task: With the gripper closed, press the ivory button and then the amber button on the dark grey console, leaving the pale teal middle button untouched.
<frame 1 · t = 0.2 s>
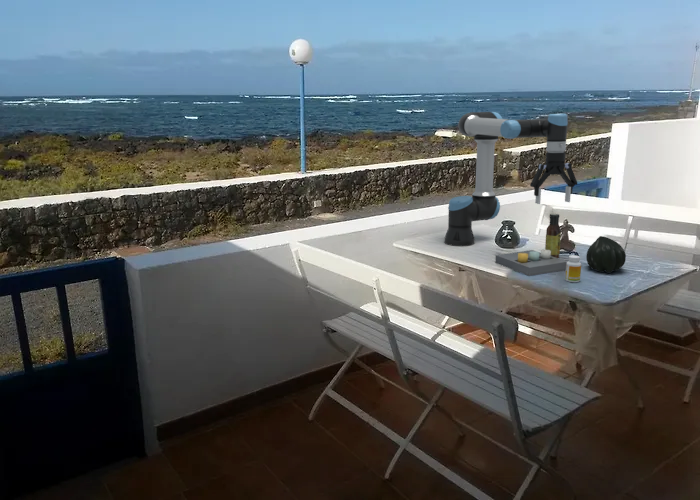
hand: (552, 202, 224), 27 cm above the table, tool pointing down, fingers open, 13 cm apart
ivory button: (545, 255, 226), point 5 cm above the table, slide at 0.0 cm
sauce bottle: (551, 257, 239), on the table
console: (530, 266, 227), on the table
squash: (604, 270, 219), on the table
amber button: (522, 258, 222), point 5 cm above the table, slide at 0.0 cm
teal button: (534, 256, 224), point 5 cm above the table, slide at 0.0 cm
supplement bottle: (572, 280, 206), on the table
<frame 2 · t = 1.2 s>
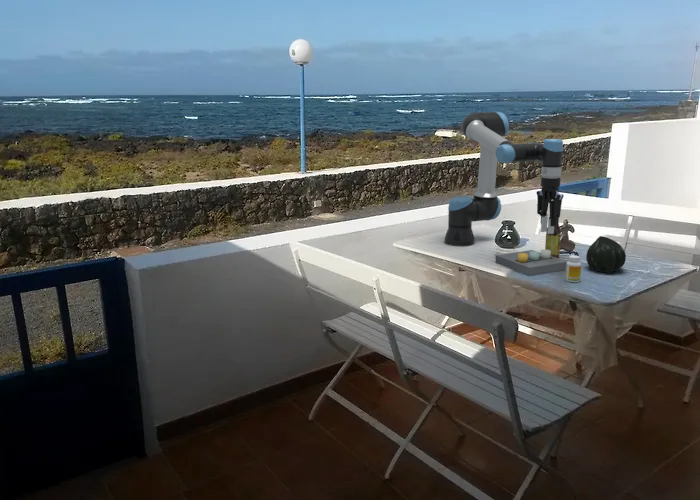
hand: (547, 232, 223), 15 cm above the table, tool pointing down, fingers open, 3 cm apart
nothing on the table moved.
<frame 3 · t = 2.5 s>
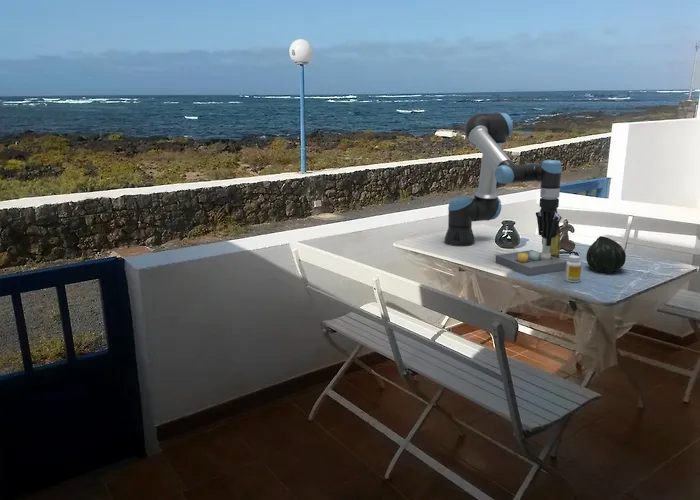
hand: (545, 252, 225), 6 cm above the table, tool pointing down, fingers closed
ivory button: (545, 257, 226), point 4 cm above the table, slide at 1.1 cm, touching gripper
everything else where it was.
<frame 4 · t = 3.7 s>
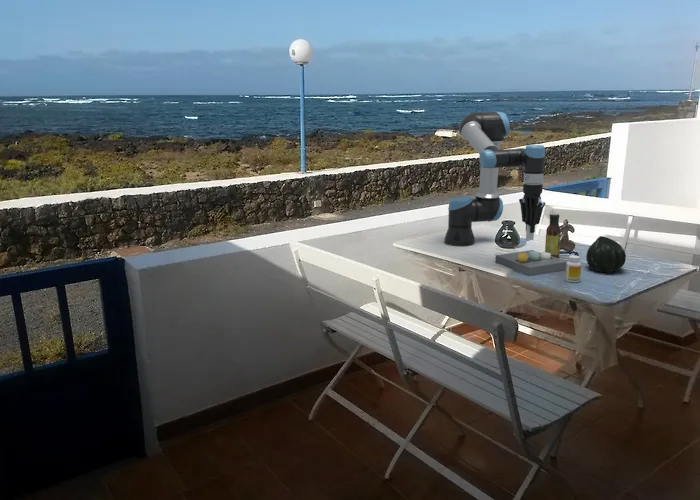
hand: (529, 239, 221), 12 cm above the table, tool pointing down, fingers closed
ivory button: (545, 257, 226), point 3 cm above the table, slide at 1.2 cm
everything else where it was.
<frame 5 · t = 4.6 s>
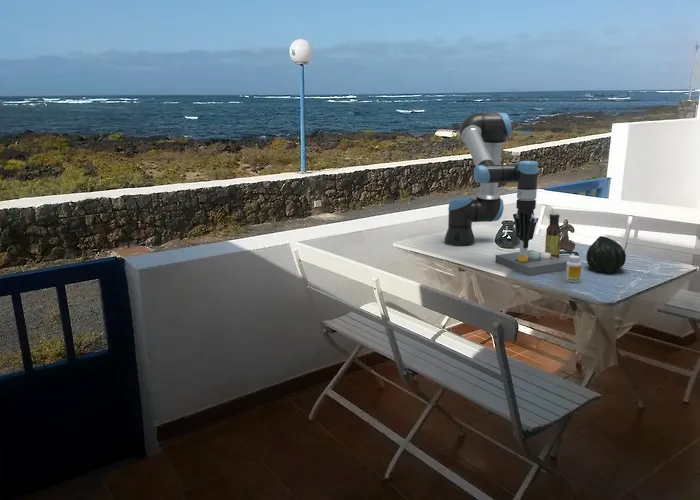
hand: (523, 255, 221), 6 cm above the table, tool pointing down, fingers closed
amber button: (522, 260, 222), point 4 cm above the table, slide at 0.7 cm, touching gripper
everything else where it was.
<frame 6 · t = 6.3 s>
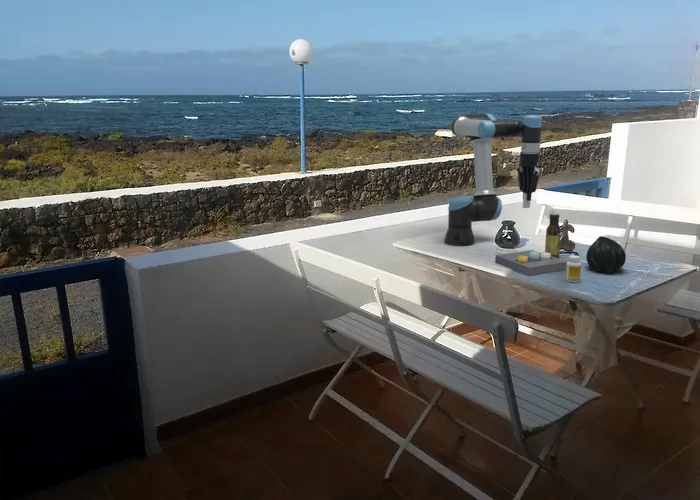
hand: (526, 207, 230), 24 cm above the table, tool pointing down, fingers closed
amber button: (522, 261, 222), point 3 cm above the table, slide at 1.2 cm
everything else where it was.
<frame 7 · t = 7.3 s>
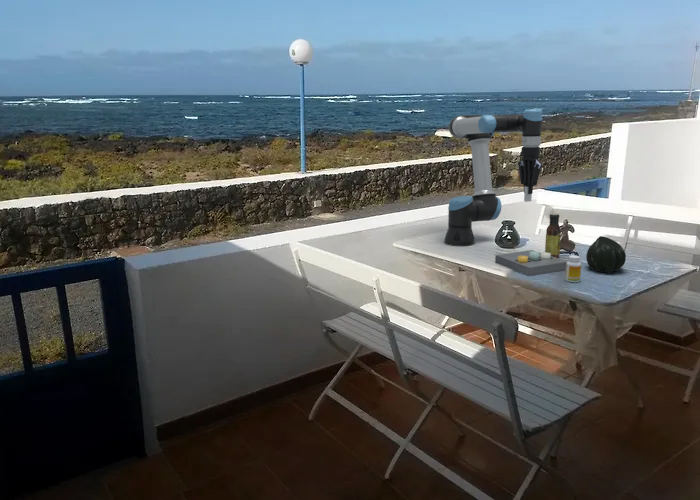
hand: (527, 201, 231), 26 cm above the table, tool pointing down, fingers closed
nothing on the table moved.
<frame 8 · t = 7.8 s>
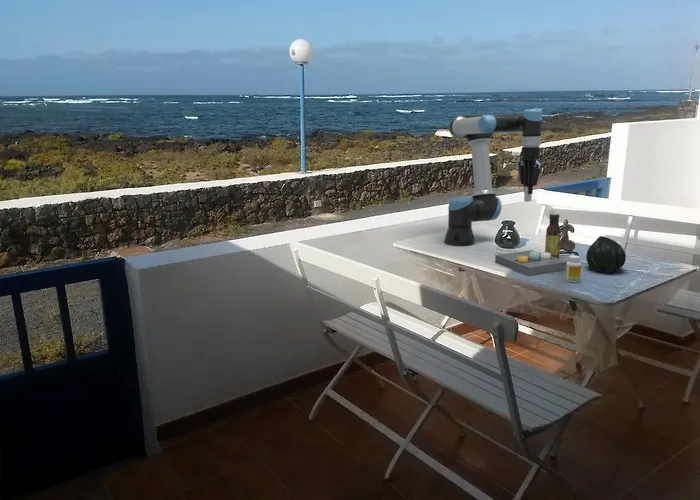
hand: (527, 201, 231), 26 cm above the table, tool pointing down, fingers closed
nothing on the table moved.
at the end: ivory button slide at 1.2 cm; amber button slide at 1.2 cm; teal button slide at 0.0 cm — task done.
